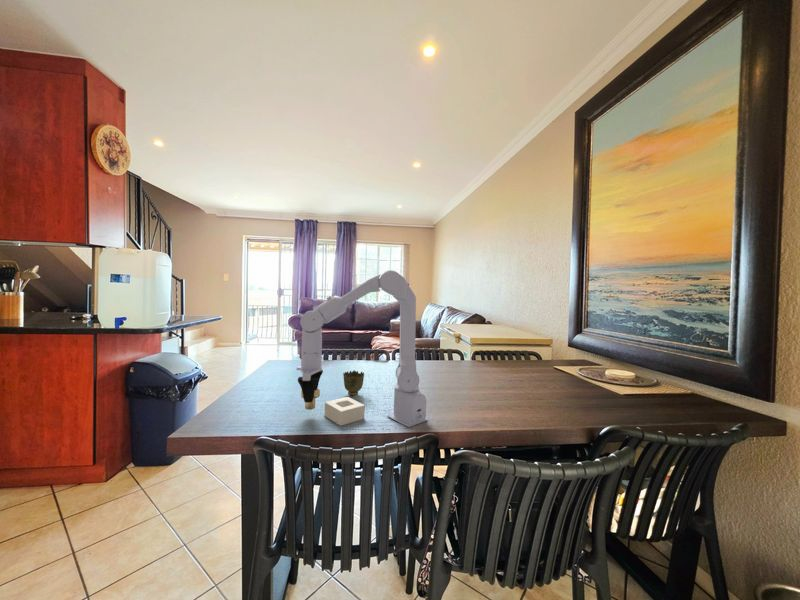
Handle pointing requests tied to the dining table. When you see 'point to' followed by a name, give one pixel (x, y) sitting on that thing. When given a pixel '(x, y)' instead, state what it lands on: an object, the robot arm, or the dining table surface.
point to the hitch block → (344, 410)
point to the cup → (353, 382)
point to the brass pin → (312, 404)
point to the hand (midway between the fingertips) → (310, 398)
